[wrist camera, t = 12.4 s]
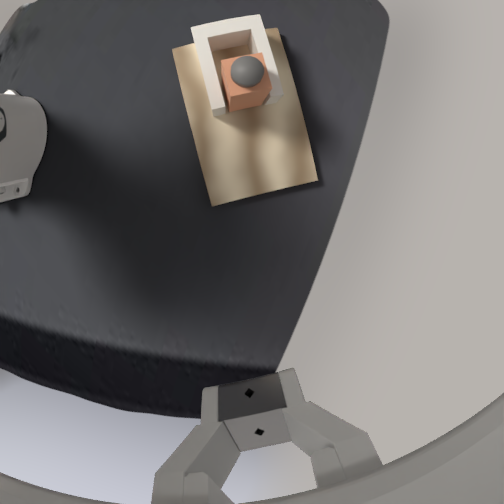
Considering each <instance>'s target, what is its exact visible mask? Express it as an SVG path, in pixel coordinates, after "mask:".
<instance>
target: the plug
mask: <svg viewBox="0 0 504 504" xmlns="http://www.w3.org/2000/svg"><path fill="white" fill-rule="evenodd" d="M221 76H222V86H223V90H224V94H225V98H226V102H227V105H228V109H229V112H233V111H237V110H241V109H246V108H250V107H255V106H260V105H261V104H262V103H263V101H264V100H265V98H266V97H267V95H268V94H269V92H270V91H271V89H272V85H271V81H270V78H269V74H268V71H267V67H266V64H265V61H264V57H263V54H262V52H261V53H255V54H249V55H244V56H239V57H234V58H229V59H224V60H221Z"/></svg>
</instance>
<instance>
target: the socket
mask: <svg viewBox="0 0 504 504" xmlns="http://www.w3.org/2000/svg"><path fill="white" fill-rule="evenodd" d="M191 31H192V35H193V39H194V42H195V46H196V50H197V54H198V58H199V62H200V66H201V70H202V74H203V78H204V82H205V86H206V89H207V93H208V97H209V101H210V105H211V109H212V113H213V117H215V116H219V115H223V114H225V103H224V99H223V95H222V91H221V87H220V84H219V80H218V76H217V72H216V68H215V65H214V61H213V57H212V53H211V52H213V51H217V50H222V49H227V48H231V47H237V46H242V45H248V47H249V51H250V54H255V53H261V52H262V54H263V57H264V61H265V64H266V67H267V71H268V74H269V78H270V81H271V85H272V89H271V91H270V92H269V94H268V95H267V97H266V98H265V100H264V104H265V105H268V104H273V103H277V102H278V101H279V99H280V98H281V97H282V96H283V95H284V93H283V89H282V85H281V82H280V78H279V75H278V71H277V68H276V64H275V61H274V58H273V54H272V51H271V48H270V45H269V42H268V38H267V35H266V32H265V29H264V26H263V23H262V20H261V17H260V14H258V15H251V16H244V17H238V18H232V19H227V20H222V21H217V22H212V23H207V24H203V25H199V26H195V27H191Z"/></svg>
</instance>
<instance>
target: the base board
mask: <svg viewBox="0 0 504 504" xmlns="http://www.w3.org/2000/svg"><path fill="white" fill-rule="evenodd" d="M265 32H266V35H267V38H268V42H269V45H270V48H271V51H272V54H273V58H274V61H275V64H276V68H277V71H278V75H279V78H280V82H281V85H282V89H283V93H284V95H283V96H282V97H281V98H280V99H279V101H278V102H277V103H273V104H268V105H265V104H264V101H263V103H262V104H261V105H260V106H255V107H250V108H246V109H241V110H237V111H233V112H229V109H228V105H227V102H226V98H225V94H224V90H223V86H222V76H221V60H224V59H229V58H234V57H239V56H244V55H249V54H250V51H249V47H248V45H242V46H237V47H231V48H227V49H222V50H217V51H213V52H211V53H212V57H213V61H214V65H215V68H216V72H217V76H218V80H219V84H220V87H221V91H222V95H223V99H224V103H225V114H223V115H219V116H215V117H213V113H212V109H211V105H210V101H209V97H208V93H207V89H206V86H205V82H204V78H203V74H202V70H201V66H200V62H199V58H198V54H197V50H196V46H195V43H193V44H189V45H186V46H182V47H178V48H175V49H172V51H173V56H174V60H175V64H176V68H177V73H178V77H179V81H180V85H181V89H182V93H183V97H184V101H185V105H186V109H187V113H188V117H189V121H190V125H191V129H192V133H193V137H194V141H195V145H196V149H197V152H198V156H199V160H200V164H201V168H202V171H203V175H204V179H205V183H206V186H207V190H208V194H209V197H210V201H211V205H212V206H216V205H220V204H223V203H227V202H231V201H235V200H239V199H242V198H246V197H250V196H254V195H258V194H262V193H266V192H270V191H275V190H279V189H283V188H287V187H291V186H296V185H300V184H305V183H309V182H314V181H318V178H317V173H316V169H315V164H314V160H313V155H312V151H311V146H310V142H309V138H308V134H307V129H306V125H305V121H304V117H303V113H302V110H301V106H300V102H299V98H298V95H297V91H296V87H295V84H294V80H293V77H292V73H291V70H290V66H289V63H288V60H287V57H286V53H285V50H284V47H283V44H282V41H281V38H280V35H279V32H278V29H277V28H272V29H265Z"/></svg>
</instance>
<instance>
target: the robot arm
mask: <svg viewBox="0 0 504 504" xmlns="http://www.w3.org/2000/svg"><path fill="white" fill-rule="evenodd" d="M46 138H47V122H46V117H45V113H44V111H43V109H42V107H41V105H40V104H39V103H38V102H37V101H36V100H35V99H33V98H31V97H24V96H20V95H19V94H18V93H17V92H16V91H15V90H8V91H6V92H5V93H4V94H0V203H1V202H5V201H8V200H12V199H16V198H20V197H24V196H27V195H28V194H29V192H30V189H31V185H32V179H33V175H34V173H35V171H36V169H37V167H38V165H39V163H40V161H41V158H42V156H43V153H44V149H45V145H46ZM18 189H19V190H18ZM279 377H280V378H279ZM290 441H292V442H293V443H294V444H295V445H296V446H297V447H299V448H300V449H301V450H302V451H303V452H305V453H306V454H307V455H309V456H310V457H311V462H312V466H313V471H314V475H315V480H316V485H317V488H316V489H313V490H309V491H305V492H301V493H297V494H292V495H288V496H283V497H278V498H273V499H268V500H261V501H255V502H248V503H240V504H504V393H503V394H502V395H501V396H499V397H498V398H497V399H496V400H494V401H493V402H492V403H490V404H489V405H488V406H486V407H485V408H484V409H482V410H481V411H479V412H478V413H477V414H475V415H474V416H472V417H471V418H469V419H468V420H466V421H465V422H464V423H462V424H460V425H459V426H457V427H456V428H454V429H453V430H451V431H449V432H448V433H446V434H444V435H443V436H441V437H439V438H437V439H436V440H434V441H432V442H430V443H428V444H427V445H425V446H423V447H421V448H419V449H417V450H415V451H413V452H411V453H409V454H407V455H405V456H403V457H401V458H399V459H396V460H394V461H392V462H390V463H388V464H385V465H382V462H381V461H380V458H379V456H378V454H377V452H376V450H375V448H374V446H373V444H372V442H371V440H370V438H369V435H368V433H367V432H365V431H363V430H361V429H359V428H357V427H355V426H353V425H351V424H349V423H348V422H346V421H344V420H342V419H340V418H339V417H337V416H335V415H333V414H331V413H329V412H328V411H326V410H324V409H323V408H321V407H319V406H317V405H316V404H314V403H312V402H311V401H309V402H305V399H304V396H303V393H302V390H301V387H300V384H299V381H298V378H297V375H296V372H295V370H294V368H290V369H287V370H283V371H280V372H279V374H278V372H276V373H273V374H269V375H265V376H261V377H257V378H253V379H249V380H244V381H239V382H234V383H228V384H223V385H219V386H213V387H206V388H204V389H203V392H202V409H201V425H196V426H195V428H194V429H193V430H192V431H191V432H190V434H189V435H188V436H187V437H186V438H185V440H184V441H183V442H182V443H181V444H180V445H179V447H178V448H177V449H176V450H175V451H174V452H173V454H172V455H171V456H170V457H169V458H168V459H167V461H166V462H165V463H164V464H163V465H162V466H161V468H159V470H158V471H157V472H156V473H155V478H154V486H153V493H152V501H151V504H234V503H233V502H232V501H231V500H230V499H229V498H228V497H227V496H226V495H225V494H224V493H223V491H222V490H221V488H222V486H223V484H224V482H225V481H226V479H227V477H228V475H229V474H230V472H231V470H232V468H233V466H234V465H235V463H236V461H237V459H238V457H239V455H240V452H242V451H247V450H252V449H257V448H261V447H265V446H271V445H276V444H281V443H285V442H290ZM0 504H118V503H111V502H103V501H98V500H92V499H87V498H82V497H77V496H72V495H68V494H64V493H60V492H56V491H53V490H49V489H46V488H42V487H39V486H35V485H32V484H29V483H27V482H24V481H21V480H18V479H16V478H13V477H10V476H8V475H5V474H3V473H0Z"/></svg>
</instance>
